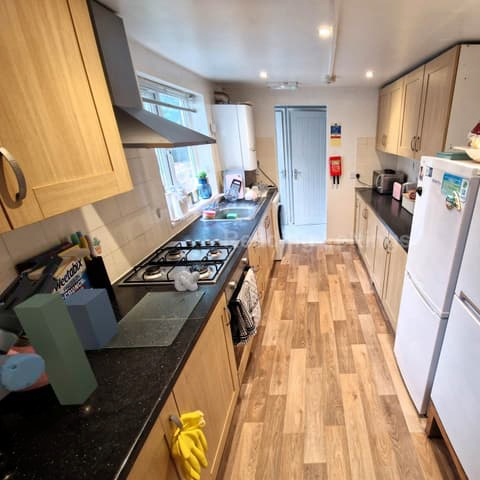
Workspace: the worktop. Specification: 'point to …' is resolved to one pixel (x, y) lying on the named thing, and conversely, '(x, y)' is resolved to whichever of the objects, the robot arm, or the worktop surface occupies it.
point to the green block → (57, 347)
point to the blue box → (92, 317)
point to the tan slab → (67, 258)
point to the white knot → (186, 281)
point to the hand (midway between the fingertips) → (53, 256)
